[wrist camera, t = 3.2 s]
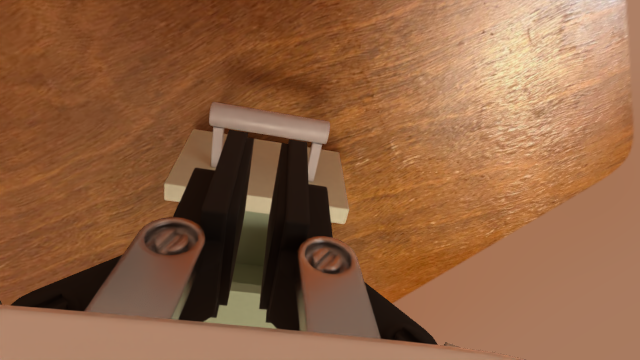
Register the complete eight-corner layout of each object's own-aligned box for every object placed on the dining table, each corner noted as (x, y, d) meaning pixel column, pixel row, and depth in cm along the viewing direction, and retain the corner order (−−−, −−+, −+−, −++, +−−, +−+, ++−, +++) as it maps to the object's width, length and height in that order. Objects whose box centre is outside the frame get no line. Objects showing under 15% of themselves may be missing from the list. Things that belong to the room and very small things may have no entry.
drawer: (194, 71, 26) (162, 115, 20) (352, 100, 28) (367, 149, 22) (188, 254, 35) (164, 324, 29) (308, 268, 37) (310, 337, 30)
